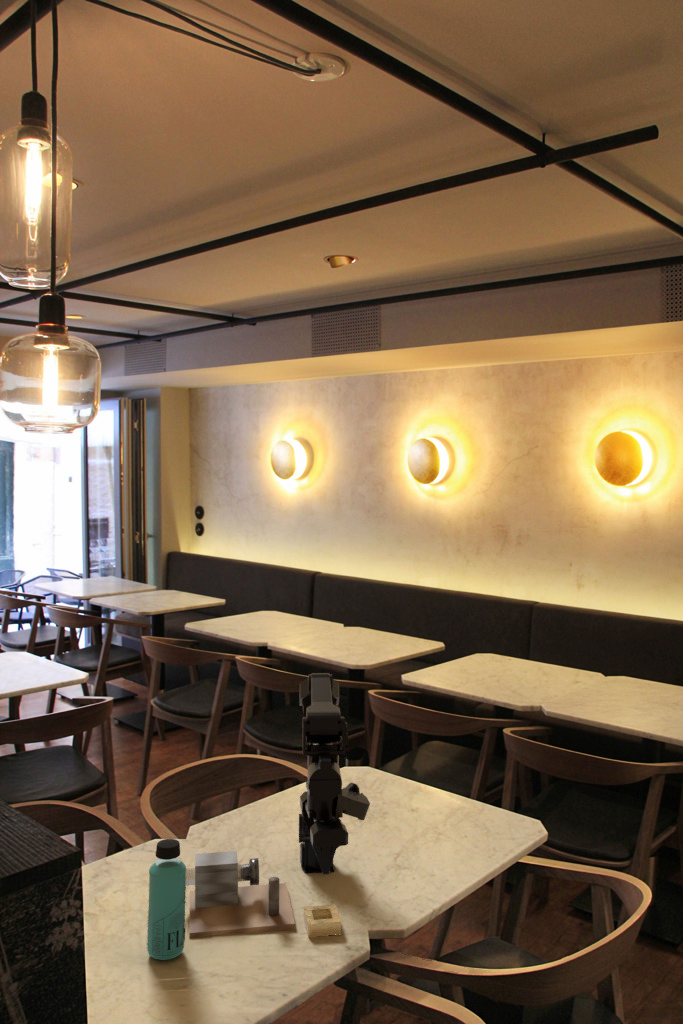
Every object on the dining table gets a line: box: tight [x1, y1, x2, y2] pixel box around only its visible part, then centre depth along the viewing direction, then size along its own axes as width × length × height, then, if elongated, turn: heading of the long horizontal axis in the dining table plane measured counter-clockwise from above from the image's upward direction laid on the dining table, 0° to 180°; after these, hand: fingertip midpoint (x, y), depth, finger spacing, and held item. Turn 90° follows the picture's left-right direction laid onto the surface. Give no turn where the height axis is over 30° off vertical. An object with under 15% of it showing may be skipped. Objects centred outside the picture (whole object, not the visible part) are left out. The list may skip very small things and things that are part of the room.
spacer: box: [303, 904, 342, 938], centre depth 146 cm, size 6×6×2 cm
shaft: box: [185, 857, 260, 887], centre depth 153 cm, size 15×5×5 cm, turn 100°
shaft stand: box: [188, 850, 296, 938], centre depth 151 cm, size 19×15×9 cm
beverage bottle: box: [145, 838, 187, 961], centre depth 136 cm, size 6×7×20 cm
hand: (322, 863), depth 146 cm, fingers open, 8 cm apart
